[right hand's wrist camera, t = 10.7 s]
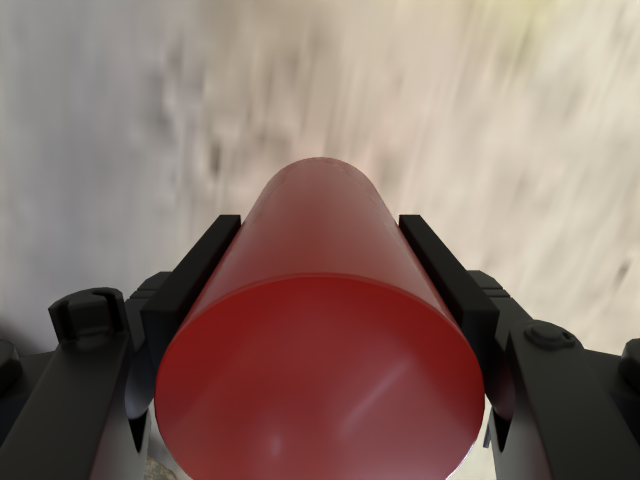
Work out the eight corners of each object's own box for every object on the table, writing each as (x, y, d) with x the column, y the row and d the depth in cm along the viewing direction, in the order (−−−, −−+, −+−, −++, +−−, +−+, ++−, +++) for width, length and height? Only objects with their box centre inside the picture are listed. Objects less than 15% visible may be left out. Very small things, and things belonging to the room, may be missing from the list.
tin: (297, 130, 15) (250, 200, 5) (409, 201, 17) (560, 379, 6) (234, 240, 17) (104, 458, 7) (338, 297, 18) (362, 558, 8)
